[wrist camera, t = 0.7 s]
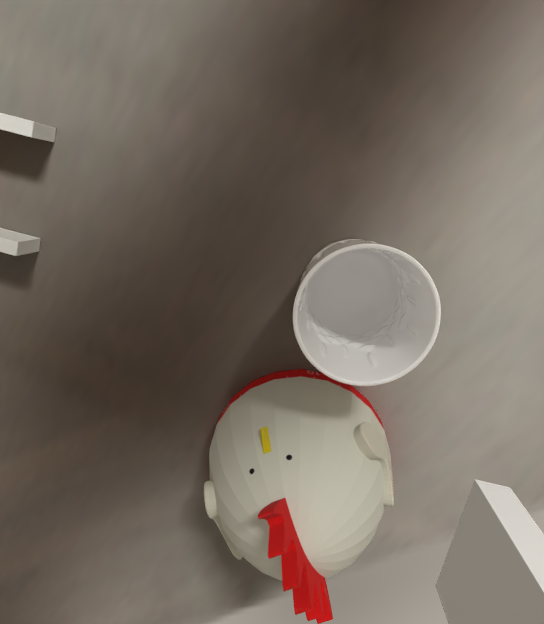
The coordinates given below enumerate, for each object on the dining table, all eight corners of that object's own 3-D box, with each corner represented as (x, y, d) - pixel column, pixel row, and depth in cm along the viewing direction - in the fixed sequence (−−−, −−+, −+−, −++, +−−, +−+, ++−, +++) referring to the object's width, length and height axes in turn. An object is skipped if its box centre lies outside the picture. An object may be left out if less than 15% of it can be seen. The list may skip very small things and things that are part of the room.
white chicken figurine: (347, 342, 37) (376, 436, 23) (412, 492, 40) (476, 664, 25) (184, 408, 39) (115, 533, 25) (256, 547, 42) (231, 735, 27)
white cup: (308, 346, 37) (311, 399, 28) (283, 245, 36) (276, 264, 26) (412, 323, 36) (452, 369, 27) (391, 218, 35) (426, 227, 25)
